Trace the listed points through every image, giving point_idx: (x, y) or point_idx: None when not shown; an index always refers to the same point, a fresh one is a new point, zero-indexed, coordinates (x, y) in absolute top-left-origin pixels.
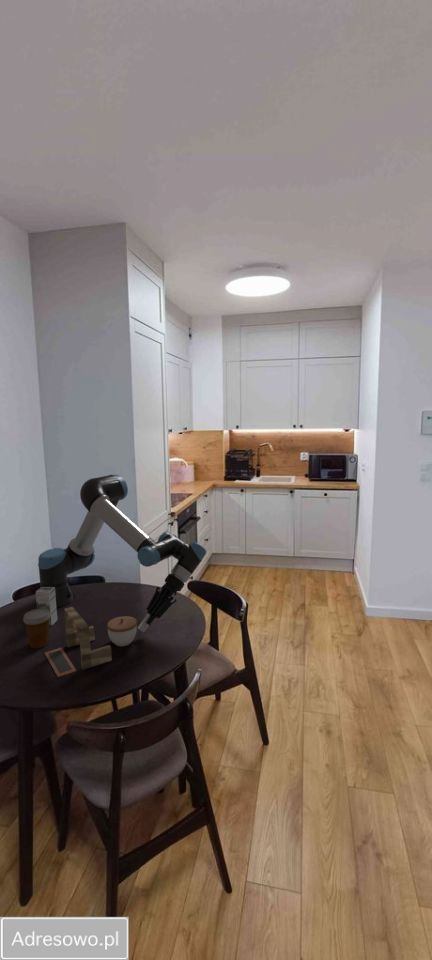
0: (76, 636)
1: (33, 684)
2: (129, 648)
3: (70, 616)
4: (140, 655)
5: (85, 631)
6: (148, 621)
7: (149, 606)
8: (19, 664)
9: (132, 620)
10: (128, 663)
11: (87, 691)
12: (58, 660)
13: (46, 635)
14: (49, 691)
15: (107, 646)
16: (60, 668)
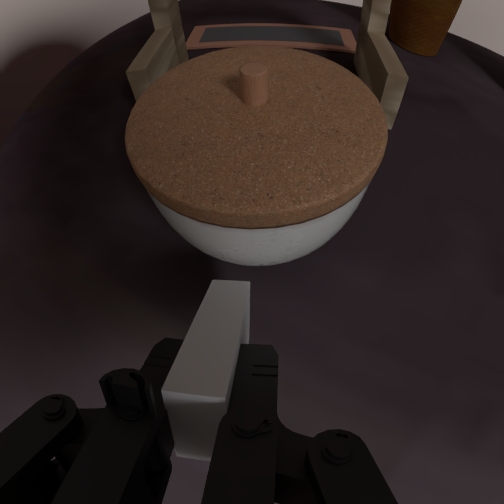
0: (365, 49)
1: (211, 8)
2: None
3: None
4: (70, 224)
5: None
6: (153, 353)
7: (323, 489)
8: (323, 6)
9: (215, 167)
10: (72, 163)
11: (82, 65)
12: (277, 31)
13: (403, 18)
14: None
15: (141, 63)
16: (227, 29)
